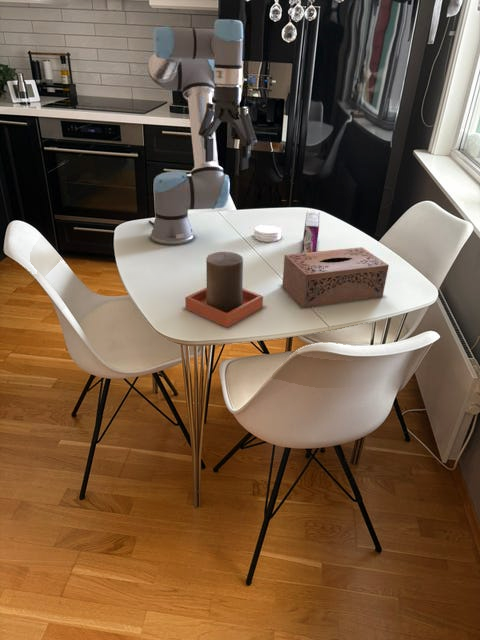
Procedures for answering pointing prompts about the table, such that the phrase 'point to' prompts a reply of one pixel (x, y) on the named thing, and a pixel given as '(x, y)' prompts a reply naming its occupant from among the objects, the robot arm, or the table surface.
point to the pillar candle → (224, 280)
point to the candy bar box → (310, 232)
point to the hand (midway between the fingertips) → (226, 165)
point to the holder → (200, 307)
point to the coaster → (267, 233)
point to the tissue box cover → (334, 276)
